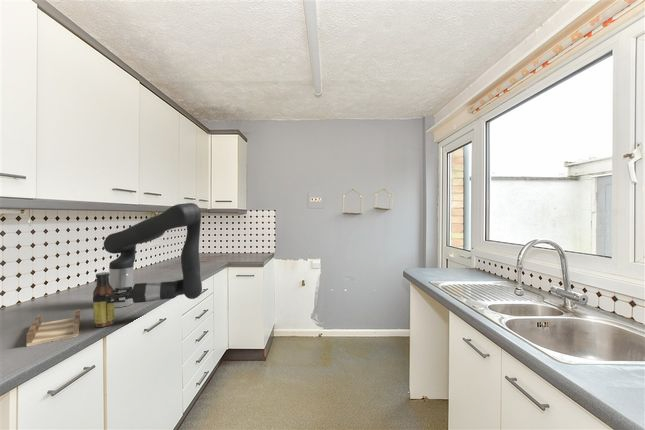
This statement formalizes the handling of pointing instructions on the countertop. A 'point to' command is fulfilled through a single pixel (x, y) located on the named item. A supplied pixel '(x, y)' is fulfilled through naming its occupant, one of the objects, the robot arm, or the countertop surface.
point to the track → (53, 330)
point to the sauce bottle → (102, 309)
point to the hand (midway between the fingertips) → (96, 296)
